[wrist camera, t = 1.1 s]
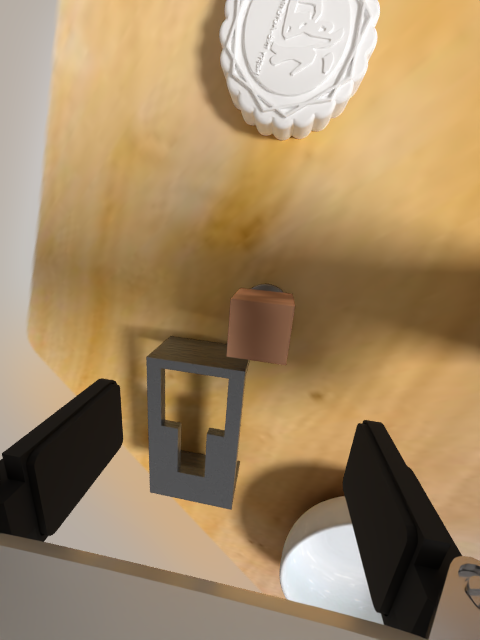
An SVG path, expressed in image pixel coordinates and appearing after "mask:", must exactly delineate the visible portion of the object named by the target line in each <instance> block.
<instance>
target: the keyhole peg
mask: <svg viewBox="0 0 480 640" xmlns="http://www.w3.org/2000/svg"><path fill="white" fill-rule="evenodd" d="M294 310H295V304H294V299H293V294H290V293H284V292H283V291H282V290H281V289H279V288H278V287H276V286H274V285H270V284H260V285H257V286H255V287H253V288H251V289H245V288H240V289H239V290H238V291H237V292H236V293H235V295H234V296H233V297H232V298H231V302H230V316H229V329H228V343H227V356H226V357H233V358H240V359H247V360H254V361H261V362H268V363H275V364H282V365H286V363H287V356H288V349H289V343H290V336H291V330H292V323H293V317H294Z"/></svg>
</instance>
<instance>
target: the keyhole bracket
mask: <svg viewBox="0 0 480 640" xmlns="http://www.w3.org/2000/svg"><path fill="white" fill-rule="evenodd" d="M226 356H227V344H223V343H216V342H209V341H201V340H194V339H187V338H180V337H172V336H170V337H169V338H168V339H167V340H166V341H164V342H163V343H162V344H161V345H160V346H159V347H157V348H156V349H155V350H154V351H153V352H152V353H150V354H149V355H148V356H147V357H146V359H147V396H148V433H149V470H150V492H151V493H156V494H161V495H165V496H170V497H175V498H179V499H184V500H189V501H193V502H198V503H203V504H207V505H212V506H217V507H221V508H226V509H232V504H233V498H234V493H235V487H236V482H237V477H238V471H239V465H240V462H239V461H237V456H238V446H239V436H240V426H241V416H242V407H243V397H244V387H245V377H246V372H247V369H248V365H249V361H250V360H247V359H240V358H233V357H226ZM165 369H170V370H176V371H183V372H189V373H196V374H202V375H209V376H215V377H222V378H228V379H229V385H228V398H227V410H226V423H225V430H220V429H214V428H209V430H208V432H207V441H206V455H203V454H197V453H192V452H187V451H182V450H181V423H180V422H175V421H169V420H165Z"/></svg>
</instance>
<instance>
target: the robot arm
mask: <svg viewBox="0 0 480 640" xmlns="http://www.w3.org/2000/svg"><path fill="white" fill-rule="evenodd" d="M122 442H123V429H122V413H121V397H120V386H119V385H117V383H116V381H114V380H108V379H99V380H97V381H96V382H94V383H93V384H92V385H91V386H89V387H88V388H87V389H85V390H84V391H83V392H81V393H80V394H79V395H77V396H76V397H75V398H74V399H72V400H71V401H70V402H69V403H67V404H66V405H64V406H63V407H62V408H61V409H59V410H58V411H57V412H55V413H54V414H53V415H51V416H50V417H49V418H48V419H46V420H45V421H44V422H42V423H41V424H40V425H38V426H37V427H36V428H35V429H33V430H32V431H31V432H29V433H28V434H27V435H25V436H24V437H23V438H21V439H20V440H19V441H18V442H16V443H15V444H14V445H12V446H11V447H10V448H8V449H7V450H6V451H5V452H3V453H2V456H3V459H1V460H0V640H480V561H479V560H477V559H474V558H472V557H466V556H462V555H461V553H460V552H459V550H458V548H457V546H456V545H455V543H454V541H453V539H452V538H451V536H450V534H449V533H448V531H447V529H446V527H445V526H444V524H443V522H442V521H441V519H440V517H439V515H438V514H437V512H436V510H435V509H434V507H433V505H432V503H431V502H430V500H429V498H428V496H427V495H426V493H425V491H424V490H423V488H422V486H421V484H420V483H419V481H418V479H417V478H416V476H415V474H414V473H413V471H412V470H411V469H410V468H409V467H408V466H407V465H406V464H405V462H404V460H403V458H402V457H401V455H400V453H399V451H398V450H397V448H396V446H395V444H394V442H393V441H392V439H391V437H390V435H389V434H388V432H387V430H386V428H385V427H384V425H383V424H382V423H381V422H374V421H368V420H364V421H363V423H362V424H361V423H359V424H358V425H357V428H356V432H355V436H354V439H353V443H352V447H351V451H350V455H349V458H348V462H347V466H346V470H345V474H344V477H343V491H344V495H345V499H346V503H347V507H348V510H349V514H350V518H351V522H352V526H353V530H354V534H355V537H356V541H357V545H358V549H359V553H360V557H361V561H362V565H363V568H364V572H365V576H366V580H367V584H368V588H369V592H370V596H371V599H372V603H373V606H374V609H375V611H376V612H377V613H381V616H382V619H383V623H384V625H383V624H379V623H376V622H372V621H368V620H364V619H361V618H357V617H353V616H349V615H346V614H342V613H338V612H334V611H331V610H327V609H323V608H319V607H315V606H311V605H307V604H303V603H299V602H295V601H291V600H287V599H283V598H278V597H274V596H270V595H266V594H262V593H258V592H254V591H250V590H246V589H242V588H237V587H234V586H229V585H225V584H221V583H217V582H213V581H208V580H204V579H200V578H196V577H192V576H187V575H183V574H179V573H175V572H171V571H167V570H162V569H158V568H154V567H149V566H146V565H141V564H137V563H133V562H129V561H124V560H120V559H116V558H111V557H107V556H103V555H98V554H94V553H90V552H85V551H81V550H77V549H72V548H68V547H64V546H59V545H54V544H51V543H46V542H44V541H45V539H46V538H47V537H48V536H51V535H53V534H54V533H55V532H56V531H57V530H58V528H59V527H60V526H61V524H62V523H63V522H64V520H65V519H66V518H67V517H68V515H69V514H70V513H71V511H72V510H73V509H74V507H75V506H76V505H77V504H78V502H79V501H80V500H81V498H82V497H83V496H84V494H85V493H86V492H87V491H88V489H89V488H90V487H91V485H92V484H93V483H94V481H95V480H96V479H97V477H98V476H99V475H100V474H101V472H102V471H103V470H104V468H105V467H106V466H107V464H108V463H109V462H110V461H111V459H112V458H113V457H114V455H115V454H116V453H117V451H118V450H119V449H120V447H121V445H122Z"/></svg>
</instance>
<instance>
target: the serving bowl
mask: <svg viewBox="0 0 480 640" xmlns="http://www.w3.org/2000/svg"><path fill="white" fill-rule="evenodd" d="M280 584H281V587H282V590H283V592H284V595H285V597H286V599H287V600H291V601H295V602H299V603H303V604H307V605H311V606H315V607H319V608H323V609H327V610H331V611H334V612H338V613H342V614H346V615H349V616H353V617H357V618H361V619H364V620H368V621H372V622H376V623H379V624H383V625H384V623H383V619H382V616H381V613H377V612H376V611H375V609H374V606H373V603H372V599H371V596H370V592H369V588H368V584H367V580H366V576H365V572H364V568H363V565H362V561H361V557H360V553H359V549H358V545H357V541H356V537H355V534H354V530H353V526H352V522H351V518H350V514H349V510H348V507H347V503H346V499H345V496H342V497H336V498H332V499H329V500H326V501H323V502H321V503H319V504H317V505H315V506H313V507H312V508H310V509H309V510H307V511H306V512H305V513H304V514H303V515H302V516H301V517H300V518H299V519H298V520H297V521H296V522H295V524H294V525H293V527H292V528H291V530H290V532H289V534H288V536H287V538H286V541H285V544H284V547H283V552H282V557H281V564H280Z"/></svg>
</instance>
